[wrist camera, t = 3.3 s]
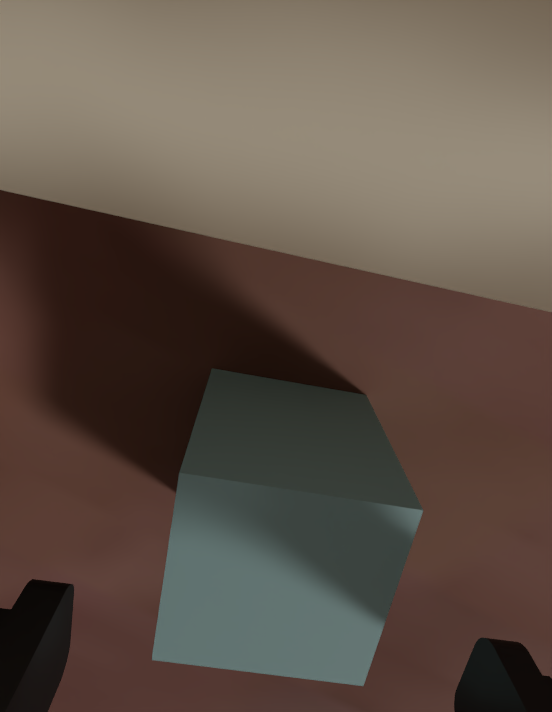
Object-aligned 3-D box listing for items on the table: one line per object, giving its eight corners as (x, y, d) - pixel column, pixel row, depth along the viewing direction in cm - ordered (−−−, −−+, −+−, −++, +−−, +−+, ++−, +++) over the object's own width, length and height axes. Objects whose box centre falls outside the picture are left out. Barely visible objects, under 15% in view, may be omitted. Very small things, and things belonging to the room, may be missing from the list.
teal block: (212, 368, 15) (179, 472, 9) (365, 394, 16) (423, 510, 10) (190, 501, 17) (151, 660, 11) (330, 521, 17) (363, 686, 11)
